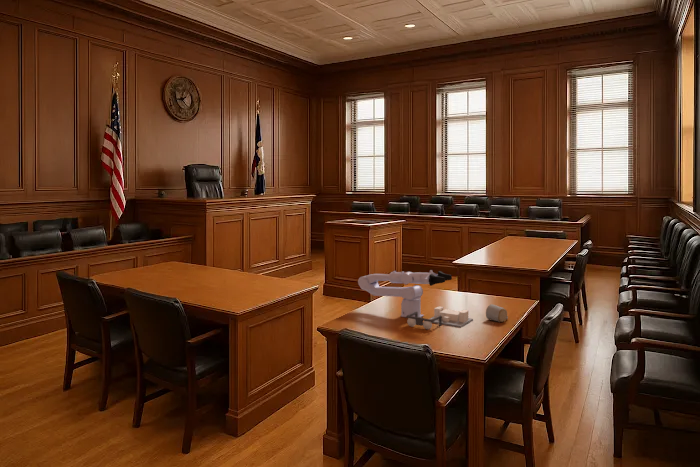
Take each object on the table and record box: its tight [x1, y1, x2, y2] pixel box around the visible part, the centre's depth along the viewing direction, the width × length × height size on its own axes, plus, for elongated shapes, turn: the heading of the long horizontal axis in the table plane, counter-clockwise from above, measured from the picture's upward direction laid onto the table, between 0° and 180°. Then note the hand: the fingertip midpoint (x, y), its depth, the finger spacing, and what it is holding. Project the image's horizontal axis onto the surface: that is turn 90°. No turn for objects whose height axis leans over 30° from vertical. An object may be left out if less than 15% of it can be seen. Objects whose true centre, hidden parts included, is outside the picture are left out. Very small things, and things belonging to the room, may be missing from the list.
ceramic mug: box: [485, 304, 509, 323], centre depth 253 cm, size 11×8×8 cm
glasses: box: [405, 312, 443, 330], centre depth 245 cm, size 10×14×5 cm
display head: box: [429, 305, 474, 329], centre depth 252 cm, size 15×18×6 cm
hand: (448, 278), depth 248 cm, fingers open, 7 cm apart
